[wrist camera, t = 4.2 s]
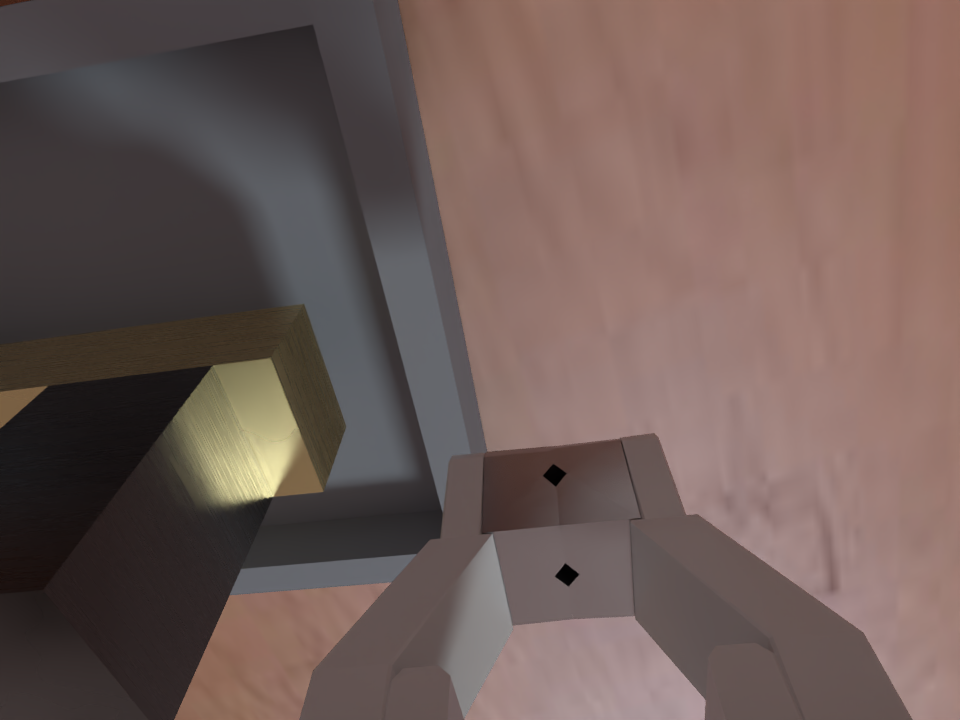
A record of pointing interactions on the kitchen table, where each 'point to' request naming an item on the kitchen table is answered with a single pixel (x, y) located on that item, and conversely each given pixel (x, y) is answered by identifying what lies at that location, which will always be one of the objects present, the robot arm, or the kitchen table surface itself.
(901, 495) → the kitchen table surface
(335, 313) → the dock
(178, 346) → the bar
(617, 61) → the kitchen table surface
